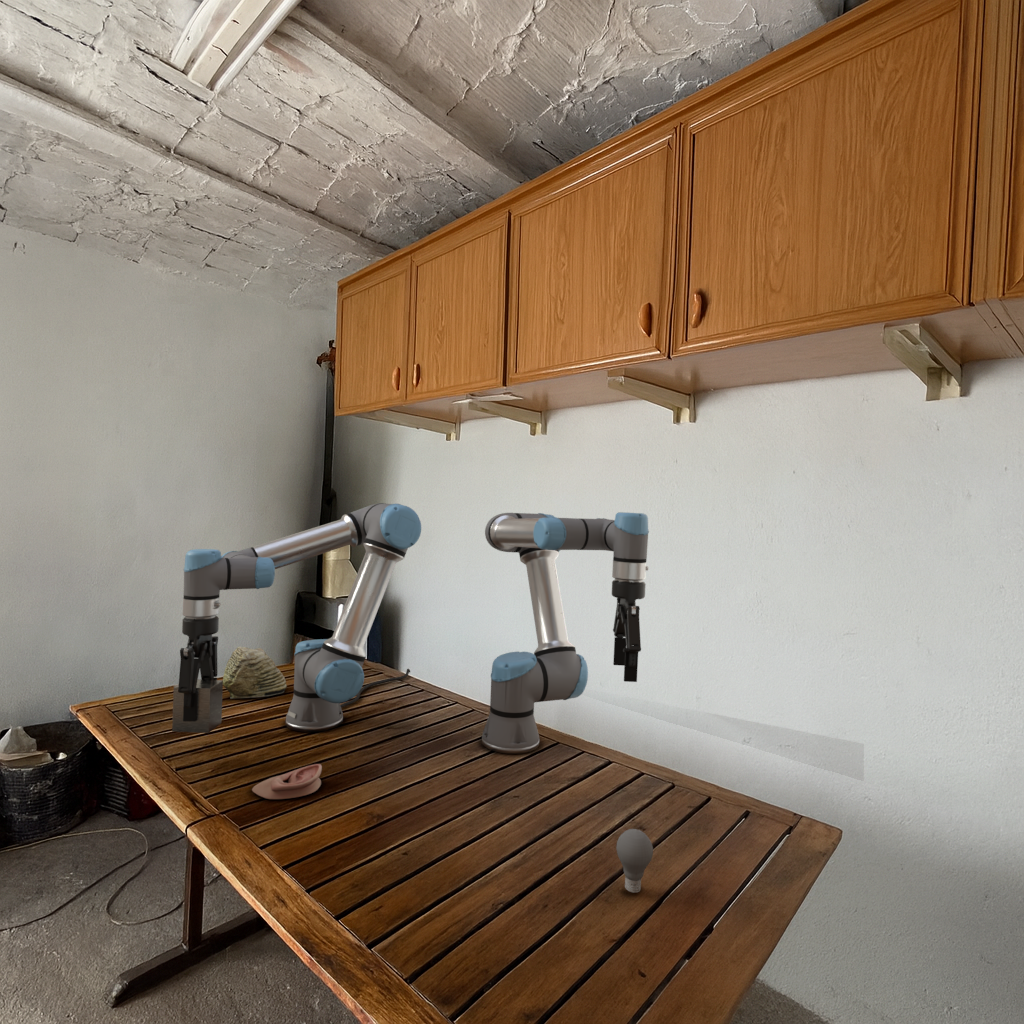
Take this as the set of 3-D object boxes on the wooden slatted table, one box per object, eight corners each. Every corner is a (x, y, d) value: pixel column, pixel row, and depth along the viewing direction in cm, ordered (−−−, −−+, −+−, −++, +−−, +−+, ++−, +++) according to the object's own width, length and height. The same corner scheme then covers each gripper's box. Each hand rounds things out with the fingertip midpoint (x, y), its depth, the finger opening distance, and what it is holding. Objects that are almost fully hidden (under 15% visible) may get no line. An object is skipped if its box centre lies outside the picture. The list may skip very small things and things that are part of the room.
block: (172, 731, 143) (173, 687, 143) (186, 721, 150) (187, 678, 150) (208, 733, 144) (210, 688, 143) (221, 723, 150) (223, 680, 150)
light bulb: (610, 879, 108) (613, 822, 108) (644, 879, 109) (647, 822, 109) (619, 902, 102) (622, 840, 102) (655, 901, 103) (658, 840, 103)
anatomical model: (244, 776, 132) (275, 755, 144) (243, 795, 132) (274, 772, 144) (301, 785, 130) (329, 762, 141) (301, 804, 130) (328, 780, 141)
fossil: (218, 695, 195) (220, 647, 195) (278, 685, 208) (279, 640, 207) (228, 703, 189) (230, 653, 188) (289, 692, 201) (290, 645, 201)
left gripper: (196, 625, 137) (193, 731, 137) (235, 609, 156) (232, 702, 157) (161, 623, 136) (158, 729, 137) (204, 608, 156) (201, 701, 156)
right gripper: (658, 588, 132) (653, 689, 132) (634, 574, 157) (630, 659, 157) (622, 586, 132) (617, 688, 132) (604, 573, 157) (600, 658, 157)
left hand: (197, 715), depth 147 cm, fingers closed on block, 6 cm apart
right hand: (624, 672), depth 145 cm, fingers open, 13 cm apart
